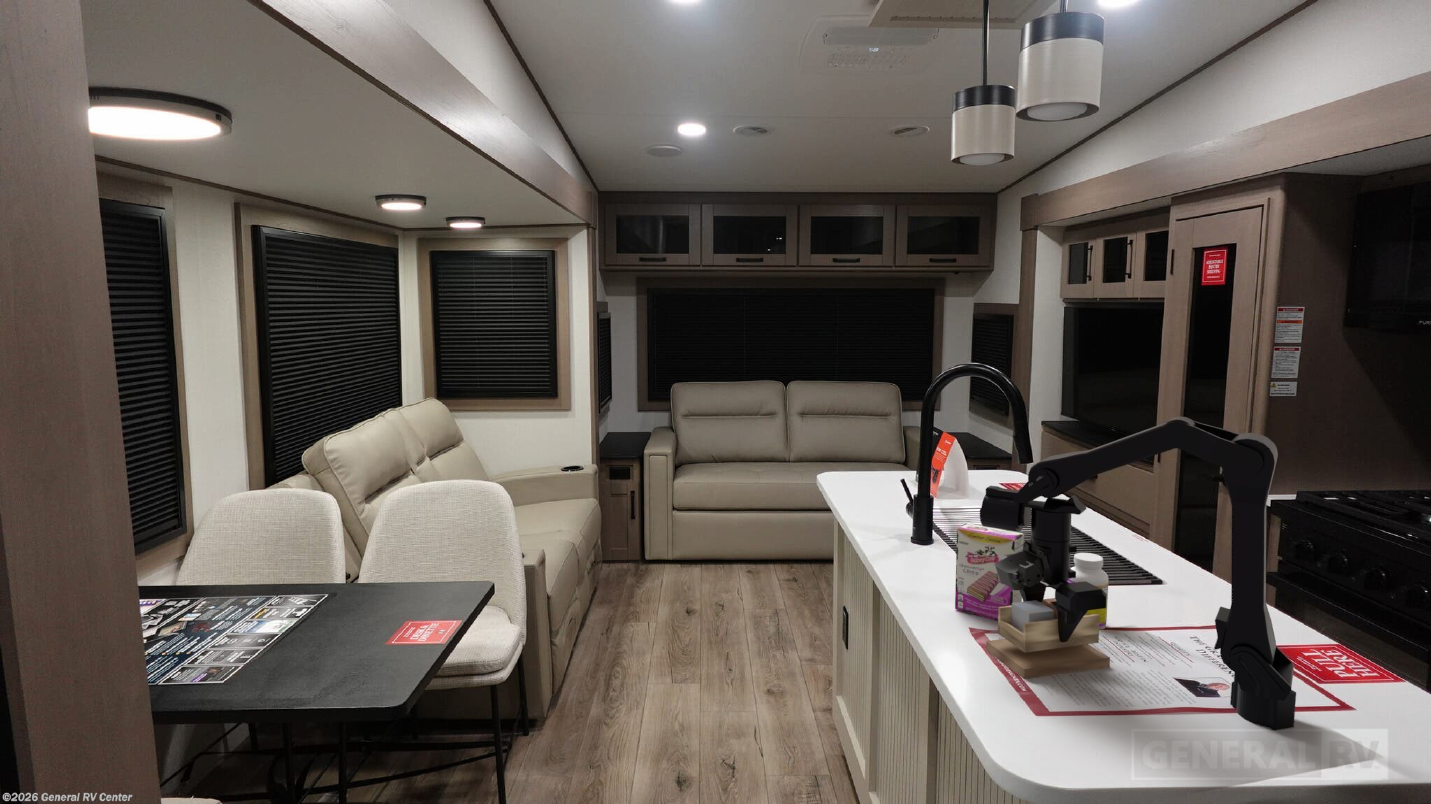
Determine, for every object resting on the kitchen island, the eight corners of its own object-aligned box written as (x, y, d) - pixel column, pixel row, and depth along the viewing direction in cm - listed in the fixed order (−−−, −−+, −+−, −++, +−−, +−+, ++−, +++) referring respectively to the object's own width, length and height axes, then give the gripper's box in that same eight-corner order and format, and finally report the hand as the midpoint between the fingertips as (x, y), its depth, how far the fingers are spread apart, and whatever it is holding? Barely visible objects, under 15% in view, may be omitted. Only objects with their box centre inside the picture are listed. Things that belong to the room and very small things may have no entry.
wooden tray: (1068, 624, 121) (1068, 598, 121) (1098, 642, 114) (1099, 615, 114) (997, 633, 119) (998, 607, 118) (1024, 652, 112) (1025, 624, 111)
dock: (1109, 676, 114) (1110, 657, 114) (1023, 688, 111) (1024, 669, 110) (1065, 648, 124) (1066, 631, 123) (986, 658, 120) (986, 641, 120)
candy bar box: (953, 610, 140) (955, 527, 138) (965, 602, 144) (966, 521, 142) (1012, 626, 133) (1014, 538, 131) (1022, 617, 136) (1025, 532, 134)
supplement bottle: (1057, 621, 134) (1059, 554, 133) (1083, 615, 137) (1085, 548, 135) (1088, 636, 128) (1091, 565, 127) (1115, 628, 131) (1118, 559, 129)
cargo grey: (1053, 635, 114) (1054, 610, 114) (1028, 638, 113) (1029, 613, 113) (1035, 624, 118) (1036, 600, 118) (1011, 627, 117) (1011, 603, 117)
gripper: (971, 525, 122) (970, 614, 124) (1043, 560, 104) (1040, 664, 106) (1030, 519, 124) (1028, 607, 126) (1111, 553, 106) (1107, 655, 108)
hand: (1047, 632), depth 116 cm, fingers closed on wooden tray, 7 cm apart
